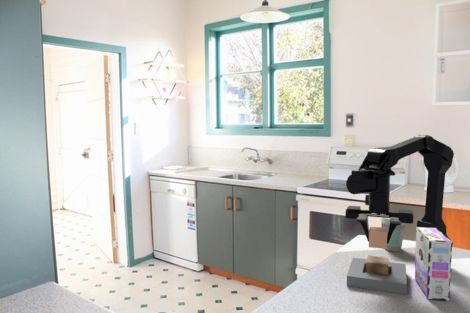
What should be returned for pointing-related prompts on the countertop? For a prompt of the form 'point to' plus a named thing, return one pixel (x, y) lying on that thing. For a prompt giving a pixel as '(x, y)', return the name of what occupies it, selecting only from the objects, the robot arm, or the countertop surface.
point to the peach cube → (378, 237)
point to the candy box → (433, 263)
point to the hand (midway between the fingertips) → (378, 242)
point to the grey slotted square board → (378, 277)
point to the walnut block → (377, 265)
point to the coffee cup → (394, 235)
